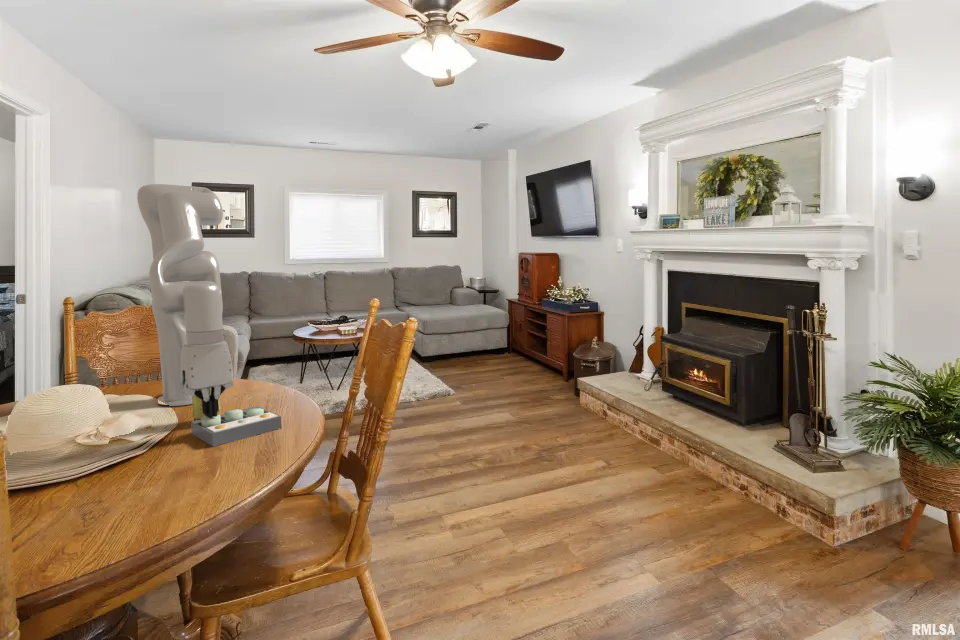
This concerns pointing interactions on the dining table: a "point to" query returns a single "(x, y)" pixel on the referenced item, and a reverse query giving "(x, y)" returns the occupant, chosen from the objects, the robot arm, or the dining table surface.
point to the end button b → (254, 412)
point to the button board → (236, 428)
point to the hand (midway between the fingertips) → (211, 415)
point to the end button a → (210, 421)
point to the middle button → (233, 415)
